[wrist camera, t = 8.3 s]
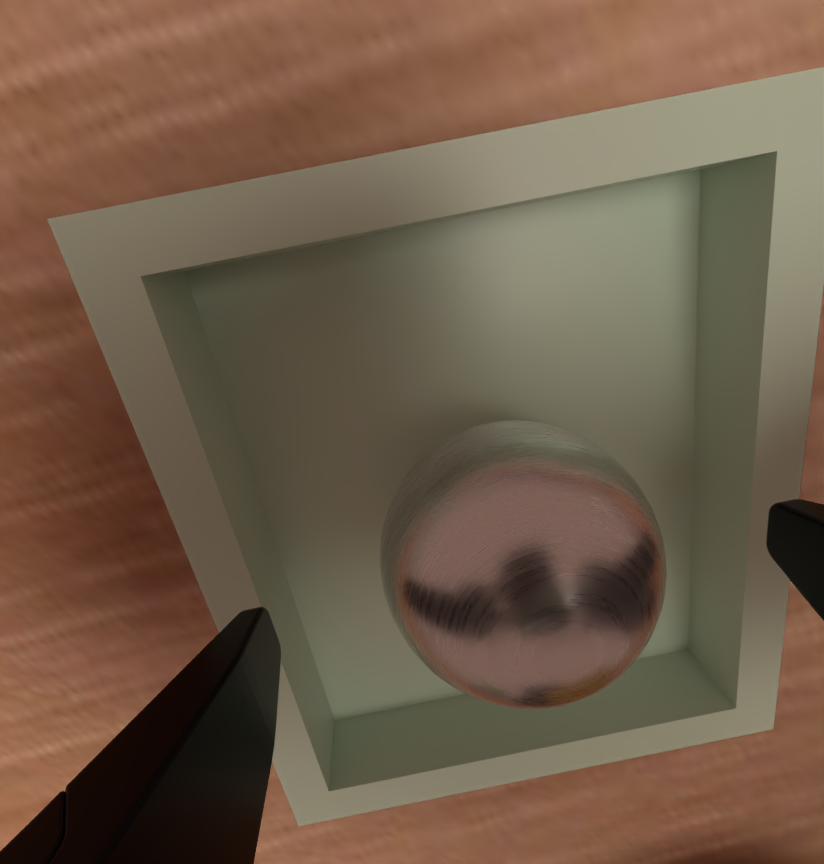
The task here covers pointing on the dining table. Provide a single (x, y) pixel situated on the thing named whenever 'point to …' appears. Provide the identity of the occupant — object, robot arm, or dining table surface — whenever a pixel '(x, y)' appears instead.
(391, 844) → the dining table surface
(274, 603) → the tray
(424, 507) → the ball
